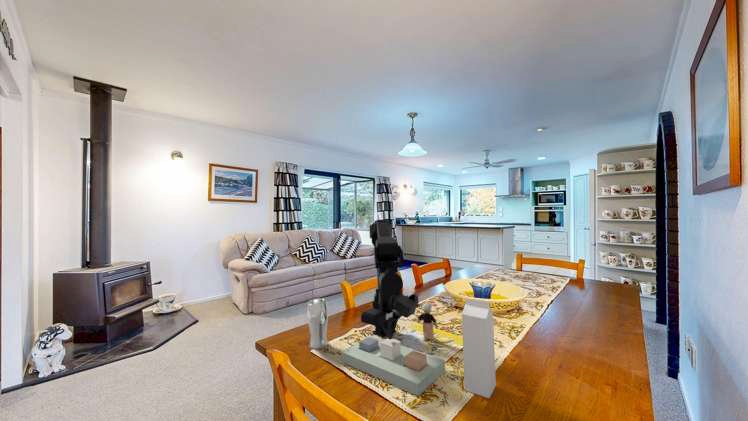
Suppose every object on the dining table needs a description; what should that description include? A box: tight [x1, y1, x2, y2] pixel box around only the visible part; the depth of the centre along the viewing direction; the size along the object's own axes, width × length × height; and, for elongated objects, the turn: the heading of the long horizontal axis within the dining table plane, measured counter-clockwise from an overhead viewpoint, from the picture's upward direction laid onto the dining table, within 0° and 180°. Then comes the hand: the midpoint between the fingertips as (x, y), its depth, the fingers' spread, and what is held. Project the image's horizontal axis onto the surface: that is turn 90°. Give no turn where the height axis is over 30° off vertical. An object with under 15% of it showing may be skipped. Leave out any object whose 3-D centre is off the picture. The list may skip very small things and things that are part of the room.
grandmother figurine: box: [416, 302, 439, 343], centre depth 100 cm, size 8×4×13 cm, turn 65°
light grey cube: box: [380, 337, 402, 362], centre depth 84 cm, size 4×4×4 cm
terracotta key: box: [405, 349, 427, 372], centre depth 79 cm, size 4×4×4 cm
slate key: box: [358, 336, 379, 353], centre depth 90 cm, size 4×4×4 cm
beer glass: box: [306, 297, 329, 350], centre depth 99 cm, size 7×7×15 cm
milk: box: [461, 298, 497, 399], centre depth 72 cm, size 6×6×22 cm
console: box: [340, 335, 446, 397], centre depth 84 cm, size 14×27×3 cm, turn 50°
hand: (390, 338), depth 84 cm, fingers closed
